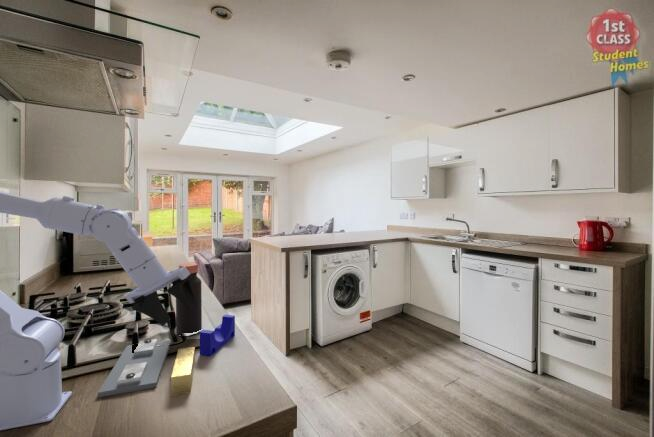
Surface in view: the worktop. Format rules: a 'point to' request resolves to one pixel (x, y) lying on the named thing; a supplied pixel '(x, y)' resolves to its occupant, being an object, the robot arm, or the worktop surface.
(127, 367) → the mounting blocks
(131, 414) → the worktop surface
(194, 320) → the bottle
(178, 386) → the link bar
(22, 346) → the robot arm
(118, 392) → the slate board
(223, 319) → the cable clip
